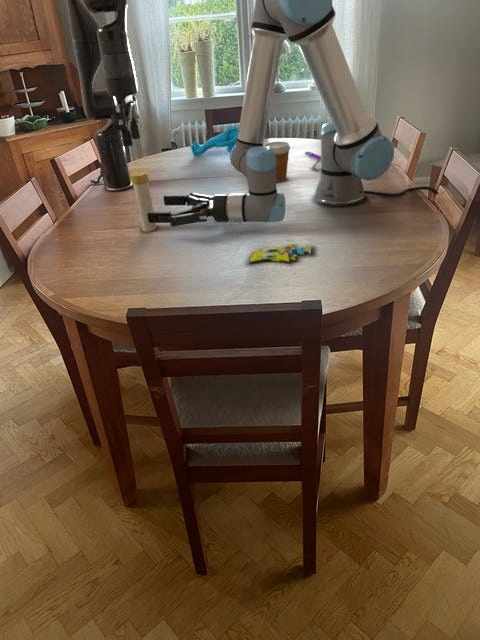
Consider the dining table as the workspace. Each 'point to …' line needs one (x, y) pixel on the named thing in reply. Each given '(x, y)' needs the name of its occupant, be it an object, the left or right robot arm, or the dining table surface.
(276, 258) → the toy
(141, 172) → the lid
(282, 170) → the disposable coffee cup
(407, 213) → the dining table surface
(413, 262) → the dining table surface
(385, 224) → the dining table surface
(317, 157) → the checkered curved strip
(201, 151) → the toy
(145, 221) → the white bottle
